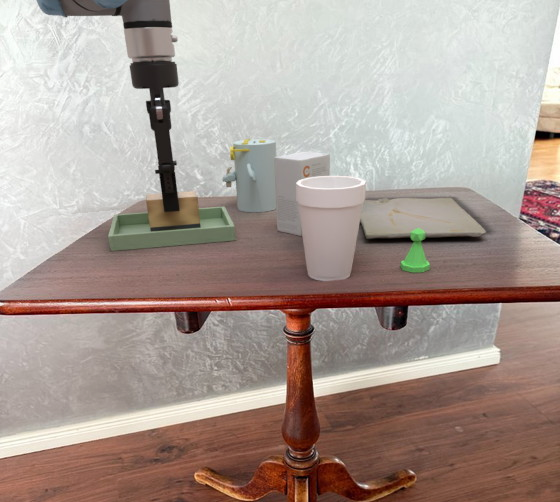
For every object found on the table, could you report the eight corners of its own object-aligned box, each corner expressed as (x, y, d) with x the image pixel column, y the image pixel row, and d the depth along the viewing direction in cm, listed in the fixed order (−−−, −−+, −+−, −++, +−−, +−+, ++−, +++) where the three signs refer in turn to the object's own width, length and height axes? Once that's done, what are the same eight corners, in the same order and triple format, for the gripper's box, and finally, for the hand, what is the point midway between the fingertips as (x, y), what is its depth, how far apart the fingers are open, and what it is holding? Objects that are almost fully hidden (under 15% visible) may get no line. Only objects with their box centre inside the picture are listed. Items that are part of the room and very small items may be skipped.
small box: (304, 221, 106) (304, 150, 99) (329, 227, 102) (331, 153, 96) (275, 230, 101) (273, 156, 94) (301, 236, 97) (300, 159, 91)
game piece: (410, 274, 79) (414, 233, 76) (394, 265, 82) (397, 226, 79) (435, 269, 80) (440, 229, 77) (418, 261, 84) (422, 222, 81)
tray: (110, 251, 93) (107, 236, 92) (116, 228, 106) (113, 214, 105) (235, 240, 96) (234, 226, 95) (225, 219, 110) (224, 206, 108)
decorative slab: (349, 207, 115) (349, 197, 114) (449, 204, 115) (450, 195, 114) (366, 245, 92) (366, 233, 91) (492, 242, 91) (494, 230, 90)
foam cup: (297, 285, 76) (296, 190, 70) (296, 264, 84) (295, 176, 78) (365, 284, 76) (370, 188, 69) (357, 262, 84) (361, 174, 77)
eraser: (151, 234, 98) (145, 200, 95) (151, 227, 102) (146, 194, 99) (200, 229, 99) (197, 196, 96) (199, 223, 104) (195, 190, 101)
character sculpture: (229, 198, 126) (224, 135, 120) (278, 196, 126) (276, 134, 119) (220, 220, 109) (214, 148, 102) (277, 218, 109) (274, 146, 102)
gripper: (178, 59, 80) (195, 217, 92) (174, 59, 96) (189, 195, 107) (126, 60, 79) (150, 221, 91) (130, 61, 94) (150, 198, 106)
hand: (171, 207), depth 99 cm, fingers closed on eraser, 5 cm apart
